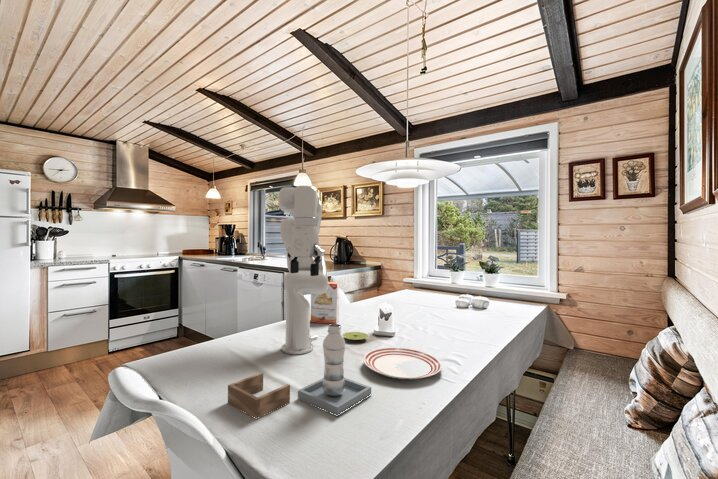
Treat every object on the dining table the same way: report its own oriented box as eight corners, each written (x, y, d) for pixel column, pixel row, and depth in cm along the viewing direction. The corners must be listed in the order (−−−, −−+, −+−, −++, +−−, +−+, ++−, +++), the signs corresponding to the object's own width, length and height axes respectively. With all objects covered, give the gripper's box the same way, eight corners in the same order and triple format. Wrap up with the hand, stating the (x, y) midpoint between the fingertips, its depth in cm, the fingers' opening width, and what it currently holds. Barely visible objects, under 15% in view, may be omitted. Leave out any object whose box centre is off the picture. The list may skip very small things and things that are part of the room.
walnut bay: (261, 388, 104) (261, 372, 104) (289, 402, 96) (290, 385, 96) (227, 402, 96) (227, 385, 95) (256, 419, 88) (256, 400, 88)
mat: (354, 334, 161) (354, 330, 161) (373, 339, 154) (373, 335, 153) (337, 339, 152) (337, 335, 152) (357, 345, 145) (357, 341, 145)
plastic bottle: (342, 400, 97) (343, 329, 96) (318, 397, 98) (320, 327, 97) (347, 390, 103) (348, 323, 102) (325, 387, 104) (326, 321, 104)
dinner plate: (444, 360, 131) (444, 351, 131) (438, 392, 105) (438, 381, 105) (374, 351, 139) (374, 343, 139) (352, 378, 113) (352, 368, 113)
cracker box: (310, 322, 179) (310, 282, 178) (313, 319, 185) (314, 280, 184) (336, 324, 176) (337, 283, 176) (339, 321, 182) (339, 281, 182)
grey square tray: (333, 381, 111) (333, 373, 111) (371, 395, 101) (371, 387, 101) (297, 398, 99) (298, 390, 99) (337, 417, 90) (337, 407, 90)
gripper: (279, 222, 118) (278, 272, 118) (315, 223, 107) (314, 278, 108) (295, 223, 124) (295, 271, 124) (331, 223, 113) (330, 275, 114)
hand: (304, 274), depth 116 cm, fingers open, 9 cm apart
